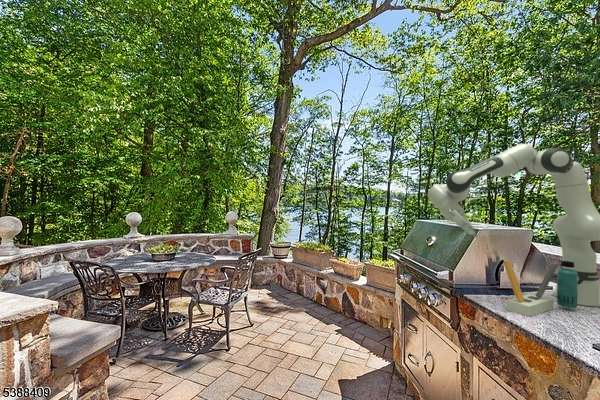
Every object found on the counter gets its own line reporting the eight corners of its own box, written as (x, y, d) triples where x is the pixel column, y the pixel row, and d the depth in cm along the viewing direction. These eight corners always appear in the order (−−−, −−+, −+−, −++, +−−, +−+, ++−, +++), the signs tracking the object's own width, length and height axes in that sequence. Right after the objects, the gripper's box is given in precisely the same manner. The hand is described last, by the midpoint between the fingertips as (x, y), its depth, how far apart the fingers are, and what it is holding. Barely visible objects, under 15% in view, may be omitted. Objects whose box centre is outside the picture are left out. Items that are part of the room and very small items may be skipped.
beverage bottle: (568, 306, 122) (569, 259, 123) (582, 312, 116) (583, 263, 116) (552, 305, 123) (552, 259, 123) (565, 311, 116) (565, 262, 117)
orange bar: (521, 300, 117) (506, 260, 122) (524, 300, 116) (509, 260, 121) (517, 301, 115) (502, 261, 120) (520, 301, 114) (505, 261, 119)
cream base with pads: (530, 302, 127) (530, 292, 127) (553, 308, 120) (553, 298, 120) (506, 309, 118) (506, 299, 118) (529, 316, 110) (529, 305, 110)
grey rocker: (538, 294, 123) (555, 262, 118) (542, 296, 122) (558, 263, 117) (535, 295, 122) (551, 262, 117) (538, 297, 121) (555, 264, 116)
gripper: (453, 203, 128) (475, 227, 120) (463, 212, 143) (484, 234, 135) (441, 212, 131) (462, 236, 123) (452, 220, 146) (472, 242, 138)
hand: (474, 235), depth 129 cm, fingers open, 8 cm apart
